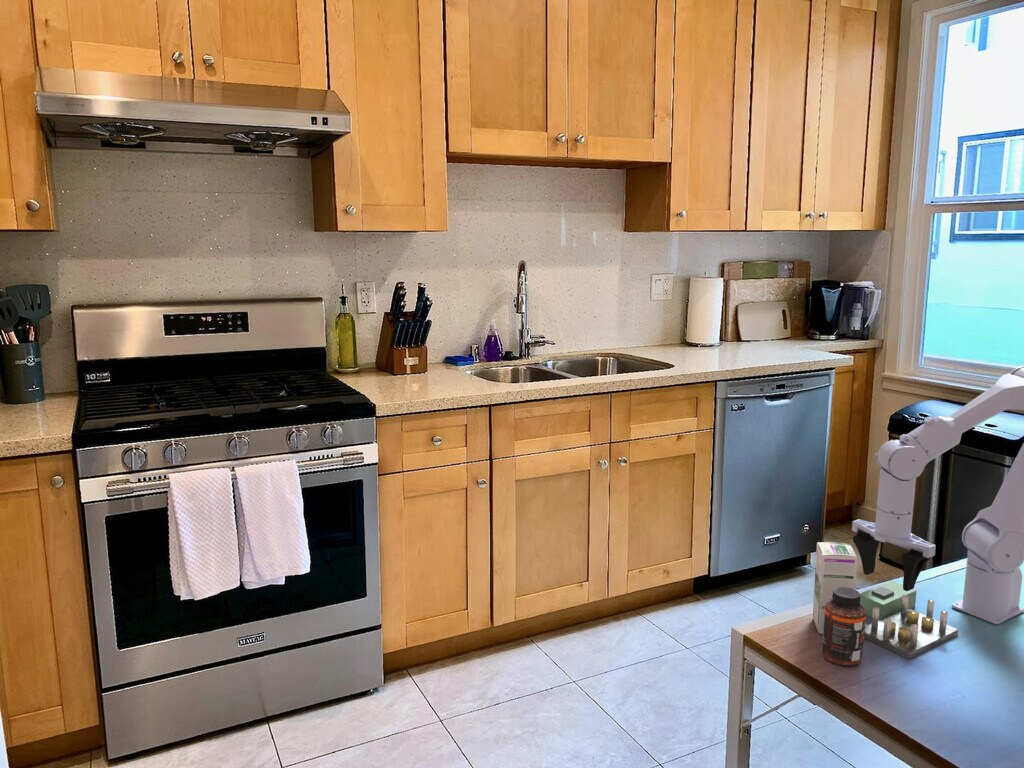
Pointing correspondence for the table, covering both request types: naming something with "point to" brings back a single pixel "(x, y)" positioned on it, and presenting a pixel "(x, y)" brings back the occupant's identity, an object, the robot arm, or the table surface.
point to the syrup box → (831, 575)
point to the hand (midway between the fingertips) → (888, 581)
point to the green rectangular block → (886, 599)
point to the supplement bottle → (844, 627)
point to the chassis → (909, 630)
